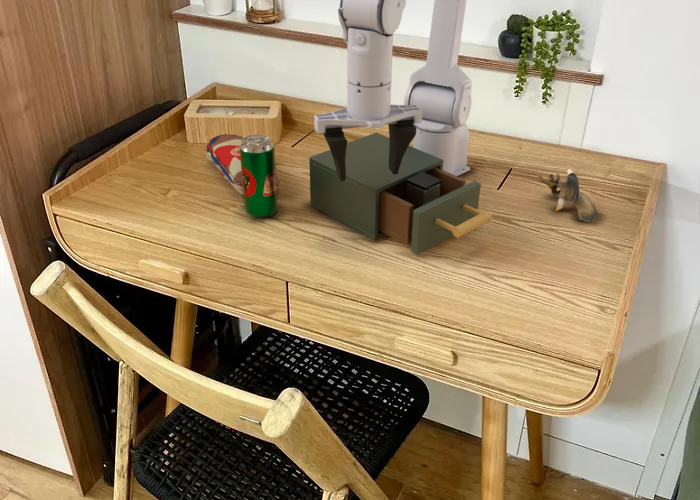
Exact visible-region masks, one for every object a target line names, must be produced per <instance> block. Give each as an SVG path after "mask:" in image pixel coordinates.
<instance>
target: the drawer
mask: <svg viewBox="0 0 700 500" xmlns="http://www.w3.org/2000/svg"><path fill="white" fill-rule="evenodd" d="M424 173H426V174H429V175H431V176H433V177H436V178H438V179H440V180H442V183H441V184H440V195H439V198H438V199H436V200H433V201H431V202H429V203H427V204H425V205H423V206H421V207H419V208H417V209H415V210H413V204H411V203H409V202H406V199H407V182H406V181H403V182H401V183H399V184H397V185H394V186H392V187H390V188H388V189H385V190H383V191H381V192H379V220H378V230H379V231H381V232H383V233H385V234H387V235H386V236H389V237H390V238H392V239H395V240H396V241H398V242H400V243H402V244H403V245H405V246H409V245H410V253H412V254H414V255H416V256H418V255H420V254H422V253H424V252H425V251H427V250H429V249H431V248H433V247H435V246H437V245H438V244H440V243H443V242H444V241H446V240H448V239H449V238H451V237H453V236H454V237H455V238H462V236H464V235H466V234H468V233H470V232H472V231H473V230H475V229H478V228H479V227H480V226H483V225H485V224H486V223H488V222H490V221H491V220H492V219H493V214H492V212H491V211H490V210H484V211H481V210H479V203H480V195H481V186H482V183H481V182H479V181H477V180H473V181H471V182H468V183H467V184H466V179H464V178H462V177H459V176H455V175H453V174H450V173H448V172H446V171H443V170H441V169H439V168H436V167H435V168H433V169H430V170H428V171H426V172H424ZM412 217H413V222H412Z"/></svg>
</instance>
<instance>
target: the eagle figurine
mask: <svg viewBox="0 0 700 500" xmlns="http://www.w3.org/2000/svg"><path fill="white" fill-rule="evenodd" d="M537 177H538V178H539V181H540V182H542V183H543V184H545V185H546V186H547V187H548V188H549V190H550V191H551V195H552V197H553V198H556V197H557V196H558V199H557V206H556V208H555V212H558V211H559V210H561V209H562V208H563V207H564V205H565V204H566V202H567V201H570V202H571V203H572V205H574V206H575V208H576V210H577V216H578V219H579V220H580V221H583V222H587V223H593V222H594V220H596V219H597V217H598V216H597V215H598V211H597V207H596V205H594V202H593V201H592V200H591V199H590V198H589V197H588V196H587V195H586V194H585V193H583V191H580V182H579V178H578V175H576V174H575V173H574V171H573V170H572V169H570V168H567V169H566V181H564V182H563V181H561V176H560V174H559V172H556V178H555V177H554V174H553V173H550V174H549V175H548V178H547V179H546V178H544V177H542V175H540V174H538V175H537ZM558 188H559V190H558Z"/></svg>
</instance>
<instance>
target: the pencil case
mask: <svg viewBox="0 0 700 500" xmlns="http://www.w3.org/2000/svg"><path fill="white" fill-rule="evenodd" d="M243 138H244V136H241V135H238V134H234V133H233V134H232V133H231V134H230V133H223V134H218V135H216V136H214V137H212V138H211V139H210V140H209V141H208V142H207V145H206V154H205V157H206V159H208V161H209V162H210V163H211V164H212V165H213V166H214V167H215V168H216V170H217V171H218V172H219V173H220V175H221V176H222V178H224V179H225V180H226V181H227V182H228V183H229V185H230V186H231V187H232V188H233V189H234V191H235V192H237V193H238V194H240V195H241V196H243V197H244V194H243V182H242V170H241V159H240V145H241V144H242V139H243ZM275 172H276V188H277V187H278V186H279V185H280V182H281V179H280V177H279V174H278V169H277V167H276V166H275Z"/></svg>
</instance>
